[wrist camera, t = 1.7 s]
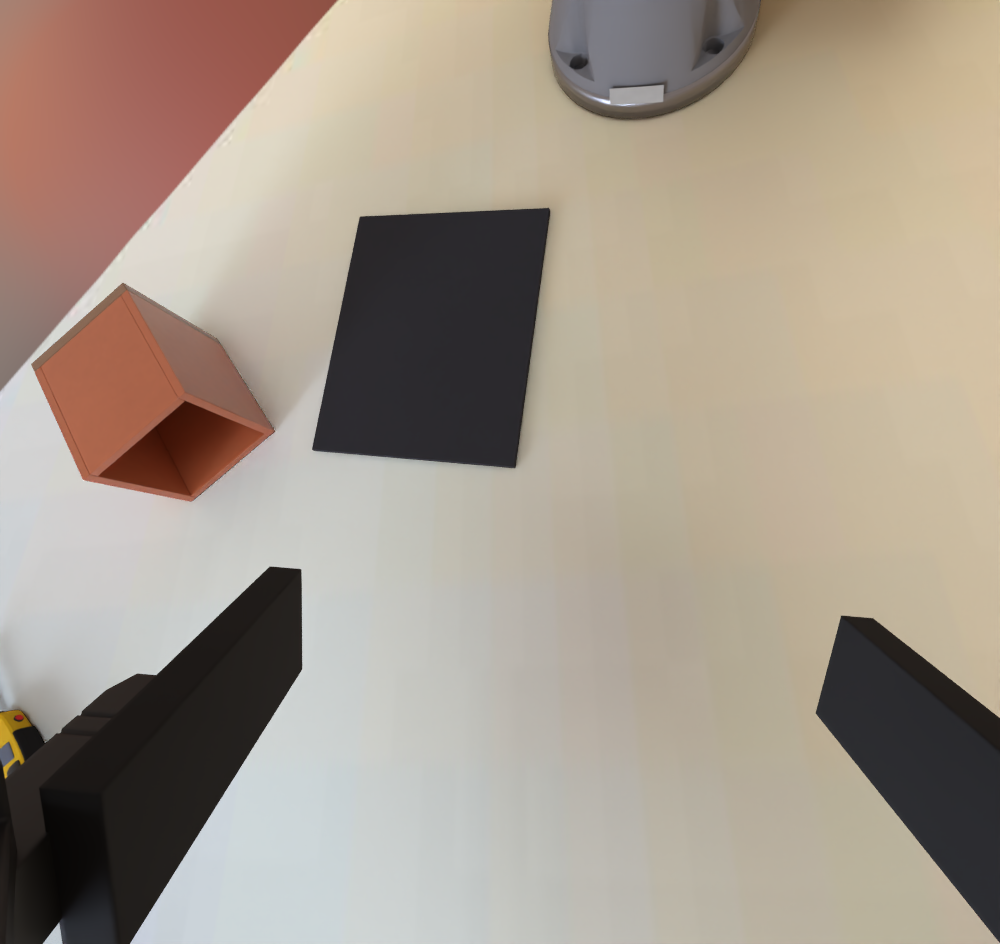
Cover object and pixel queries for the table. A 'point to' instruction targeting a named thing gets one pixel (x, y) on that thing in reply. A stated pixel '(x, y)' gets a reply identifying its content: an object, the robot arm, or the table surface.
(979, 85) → the table surface
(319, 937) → the table surface
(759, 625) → the table surface
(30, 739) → the yellow screwdriver
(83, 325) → the open square box
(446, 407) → the mat
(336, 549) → the table surface
